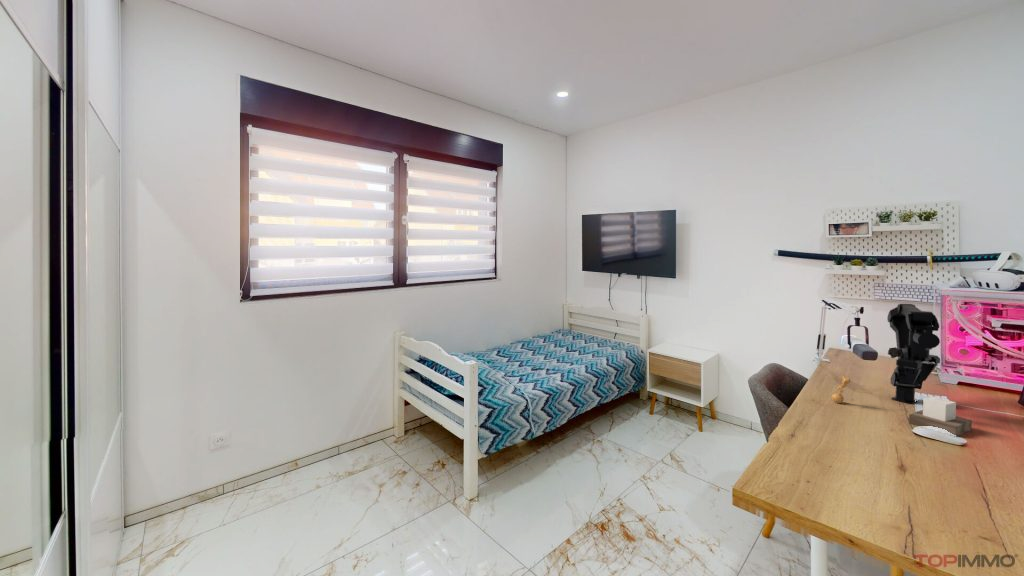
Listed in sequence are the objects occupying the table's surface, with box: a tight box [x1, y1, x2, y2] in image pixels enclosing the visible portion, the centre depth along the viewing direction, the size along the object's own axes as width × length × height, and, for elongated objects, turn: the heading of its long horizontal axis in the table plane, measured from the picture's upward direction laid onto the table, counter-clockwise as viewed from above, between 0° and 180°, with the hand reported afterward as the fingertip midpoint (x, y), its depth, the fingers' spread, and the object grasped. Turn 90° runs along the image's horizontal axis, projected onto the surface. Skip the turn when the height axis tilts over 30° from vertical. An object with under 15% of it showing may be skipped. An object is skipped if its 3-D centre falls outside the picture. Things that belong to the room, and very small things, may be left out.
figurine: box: [831, 375, 851, 404], centre depth 164 cm, size 8×6×12 cm
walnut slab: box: [908, 409, 973, 437], centre depth 141 cm, size 12×12×4 cm
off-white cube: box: [922, 396, 957, 421], centre depth 141 cm, size 6×6×6 cm
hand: (917, 382), depth 153 cm, fingers open, 9 cm apart
